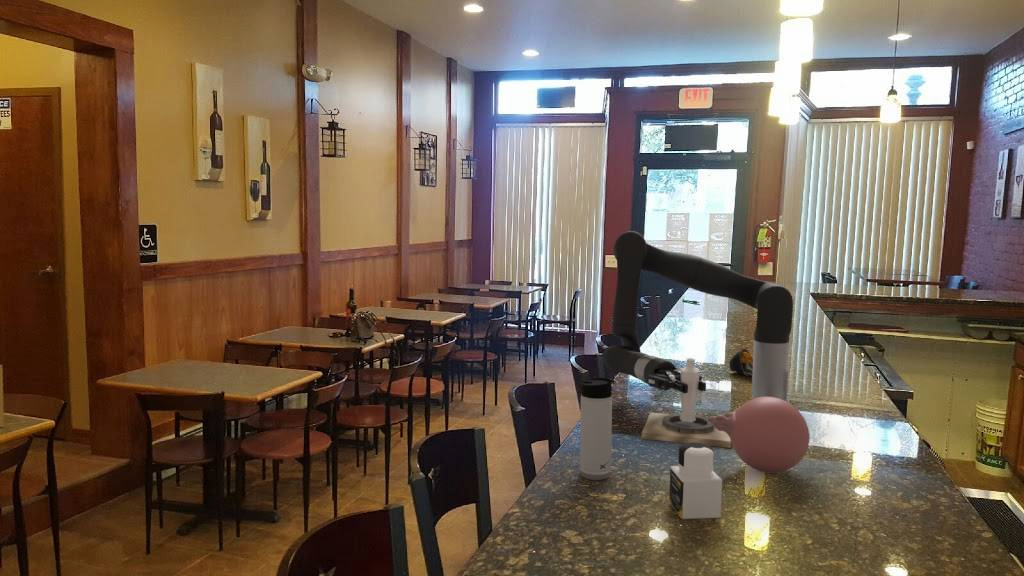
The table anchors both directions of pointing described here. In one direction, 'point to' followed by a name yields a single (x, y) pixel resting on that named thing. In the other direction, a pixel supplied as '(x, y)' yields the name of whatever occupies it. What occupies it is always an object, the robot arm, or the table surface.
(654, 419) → the hub board
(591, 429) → the travel mug
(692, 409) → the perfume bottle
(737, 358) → the black and orange lump
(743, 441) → the balloon
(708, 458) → the medicine bottle
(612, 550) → the table surface
